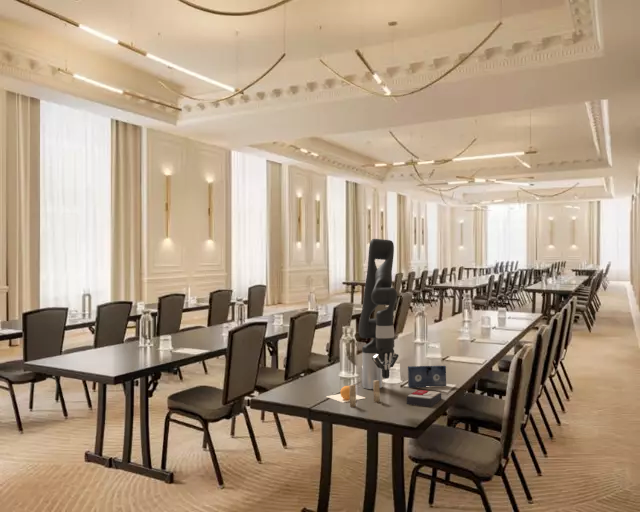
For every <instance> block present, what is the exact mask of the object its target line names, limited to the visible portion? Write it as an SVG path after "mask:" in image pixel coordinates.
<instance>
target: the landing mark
mask: <svg viewBox="0 0 640 512" xmlns="http://www.w3.org/2000/svg"><path fill="white" fill-rule="evenodd" d="M325 397H326V398H328V399H329V400H333V401H337V402H338V403H339V402H340V403H341V404H343V403H344V404H345V403H350V399H348V400H346V399H343V398H342V397H341V394H340V393H337V394H333V395H332V394H331V395H327V396H325ZM364 399H365V400H366V397H364V396H361V395H360V394H359V395H358V394H356V401H359V400H364Z"/></svg>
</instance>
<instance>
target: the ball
mask: <svg viewBox="0 0 640 512" xmlns="http://www.w3.org/2000/svg"><path fill="white" fill-rule="evenodd" d="M339 392H340V393H339V394H341V397H342V398H343V399H346V400H348V399H350V385H344V386H343V387H341V389H340V391H339Z"/></svg>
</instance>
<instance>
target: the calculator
mask: <svg viewBox="0 0 640 512" xmlns="http://www.w3.org/2000/svg"><path fill="white" fill-rule="evenodd" d="M441 400H442V393H441V392H440V391H434V390H433V391H432V390H430V391H429V390H423V389H422V390H421V389H418V390H415V391H413V392H412V393H410V394H408V395H407V396H406V405H408V406H409V405H410V406H419V407H426V408H432V407H434V406H435V405H436V404H437V403H439V402H440V401H441Z"/></svg>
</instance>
